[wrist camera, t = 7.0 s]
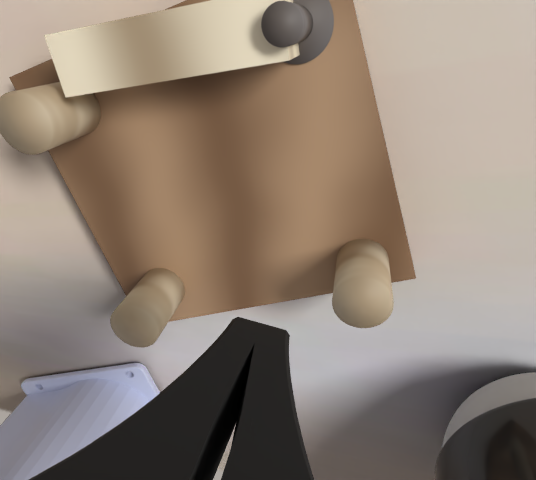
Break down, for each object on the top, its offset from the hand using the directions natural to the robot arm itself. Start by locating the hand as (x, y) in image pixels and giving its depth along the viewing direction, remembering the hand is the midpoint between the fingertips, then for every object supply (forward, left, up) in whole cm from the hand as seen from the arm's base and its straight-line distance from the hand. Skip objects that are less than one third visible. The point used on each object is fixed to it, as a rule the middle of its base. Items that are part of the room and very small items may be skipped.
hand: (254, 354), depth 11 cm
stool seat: (-3, +3, -10) cm, 11 cm away
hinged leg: (-2, +8, -9) cm, 12 cm away
